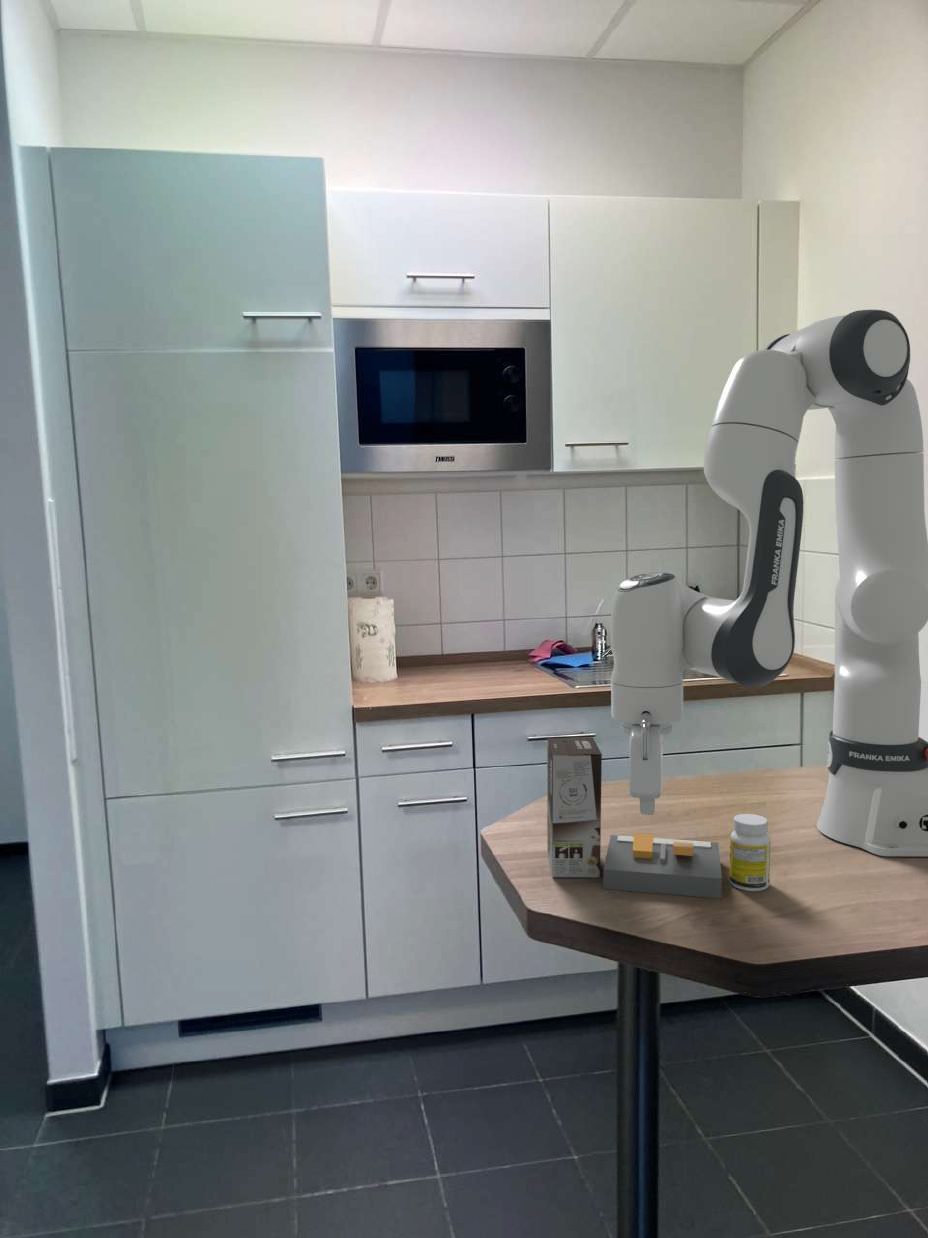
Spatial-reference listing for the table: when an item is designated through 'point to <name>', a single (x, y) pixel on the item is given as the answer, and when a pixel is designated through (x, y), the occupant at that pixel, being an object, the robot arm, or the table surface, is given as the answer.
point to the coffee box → (574, 806)
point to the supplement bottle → (750, 853)
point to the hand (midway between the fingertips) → (647, 811)
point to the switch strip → (664, 868)
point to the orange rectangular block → (683, 848)
